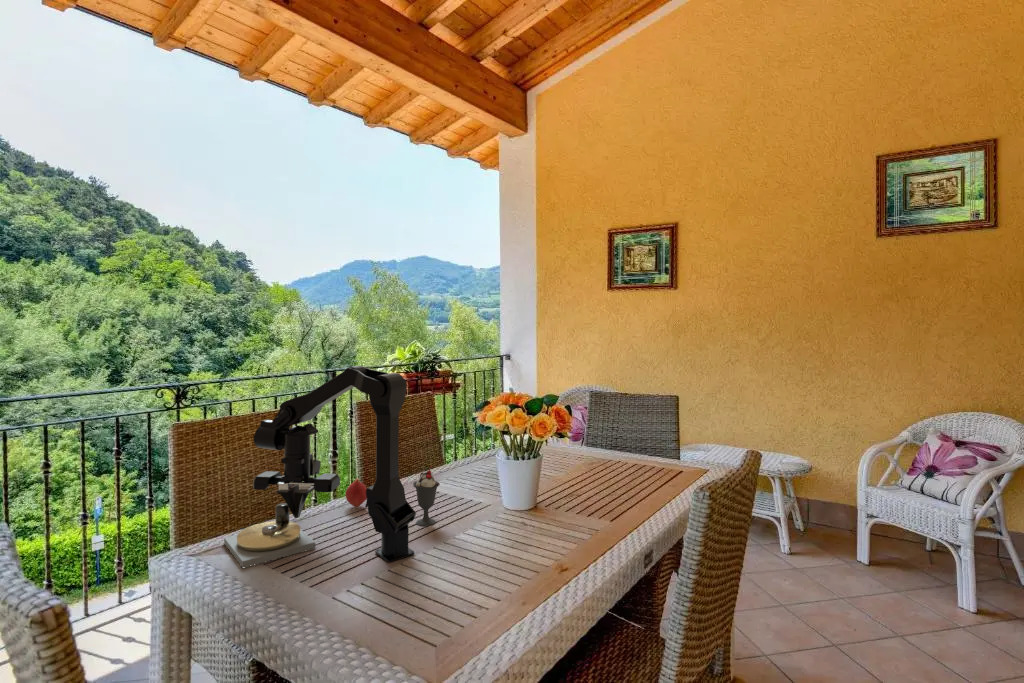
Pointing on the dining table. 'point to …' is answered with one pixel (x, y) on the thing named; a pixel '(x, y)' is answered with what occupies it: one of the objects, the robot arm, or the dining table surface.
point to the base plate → (257, 557)
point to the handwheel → (270, 533)
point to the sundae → (426, 496)
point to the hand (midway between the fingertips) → (297, 517)
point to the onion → (356, 493)
